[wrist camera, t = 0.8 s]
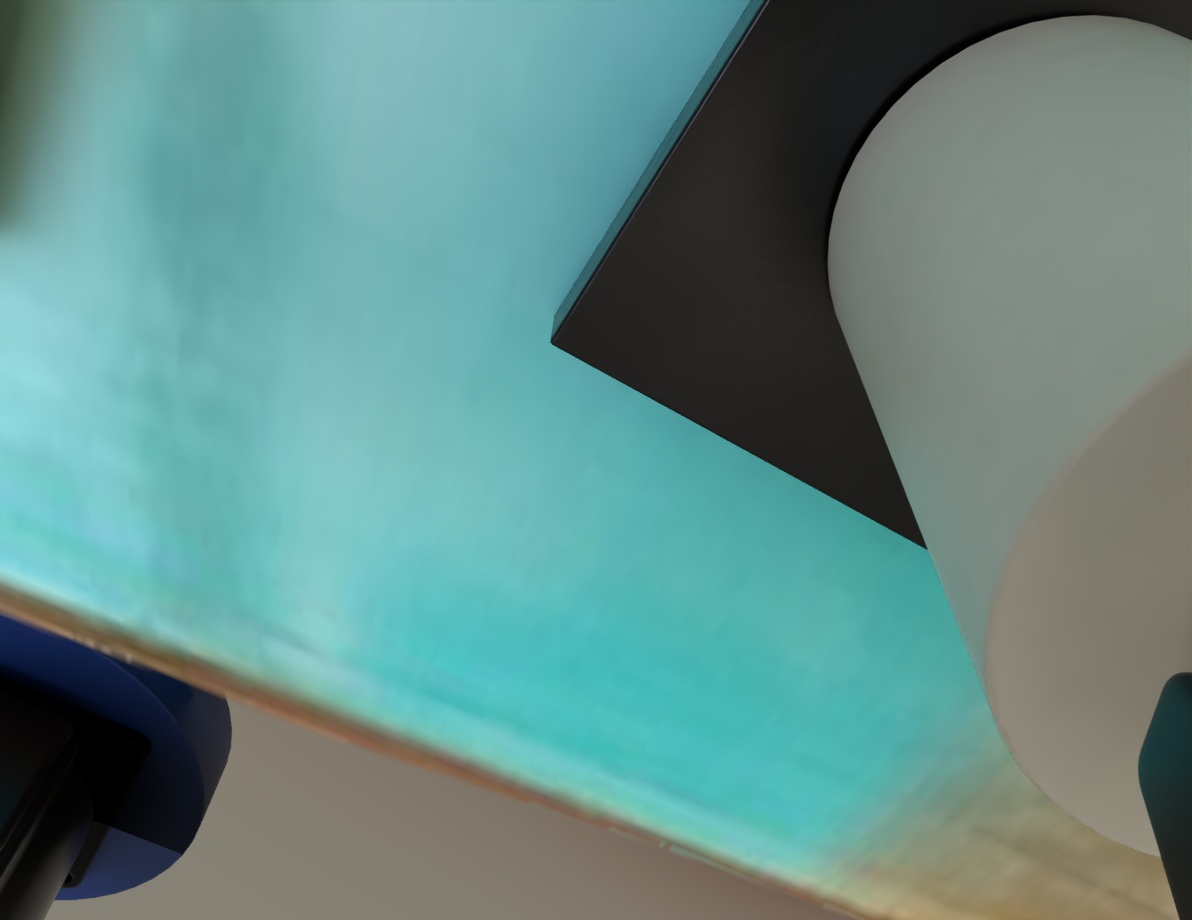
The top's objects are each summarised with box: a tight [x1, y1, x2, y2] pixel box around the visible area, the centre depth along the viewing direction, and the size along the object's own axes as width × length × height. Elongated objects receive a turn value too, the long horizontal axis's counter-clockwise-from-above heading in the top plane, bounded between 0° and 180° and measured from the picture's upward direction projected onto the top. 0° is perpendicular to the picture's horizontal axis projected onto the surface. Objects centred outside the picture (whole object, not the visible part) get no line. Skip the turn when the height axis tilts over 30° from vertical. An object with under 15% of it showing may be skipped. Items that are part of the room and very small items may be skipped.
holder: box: [550, 0, 1192, 550], centre depth 19 cm, size 12×12×1 cm
